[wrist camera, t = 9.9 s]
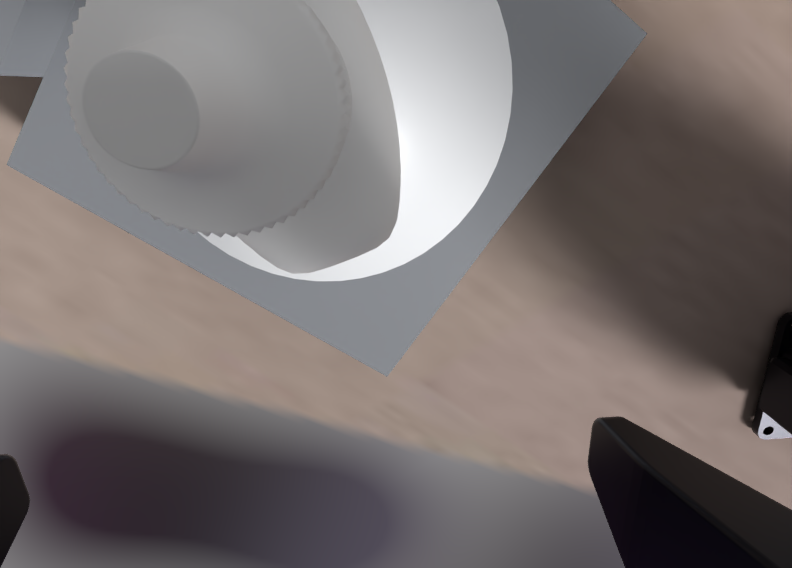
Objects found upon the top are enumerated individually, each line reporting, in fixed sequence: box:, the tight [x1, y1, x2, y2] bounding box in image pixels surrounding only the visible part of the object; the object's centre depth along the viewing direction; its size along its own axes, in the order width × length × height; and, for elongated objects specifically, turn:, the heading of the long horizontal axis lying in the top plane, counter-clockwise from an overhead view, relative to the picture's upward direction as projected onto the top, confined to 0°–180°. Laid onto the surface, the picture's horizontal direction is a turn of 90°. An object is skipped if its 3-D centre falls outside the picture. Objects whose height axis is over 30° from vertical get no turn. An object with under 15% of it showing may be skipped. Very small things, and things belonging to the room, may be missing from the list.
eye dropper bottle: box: [64, 0, 401, 274], centre depth 9 cm, size 4×6×12 cm
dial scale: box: [0, 0, 647, 376], centre depth 16 cm, size 15×14×5 cm
